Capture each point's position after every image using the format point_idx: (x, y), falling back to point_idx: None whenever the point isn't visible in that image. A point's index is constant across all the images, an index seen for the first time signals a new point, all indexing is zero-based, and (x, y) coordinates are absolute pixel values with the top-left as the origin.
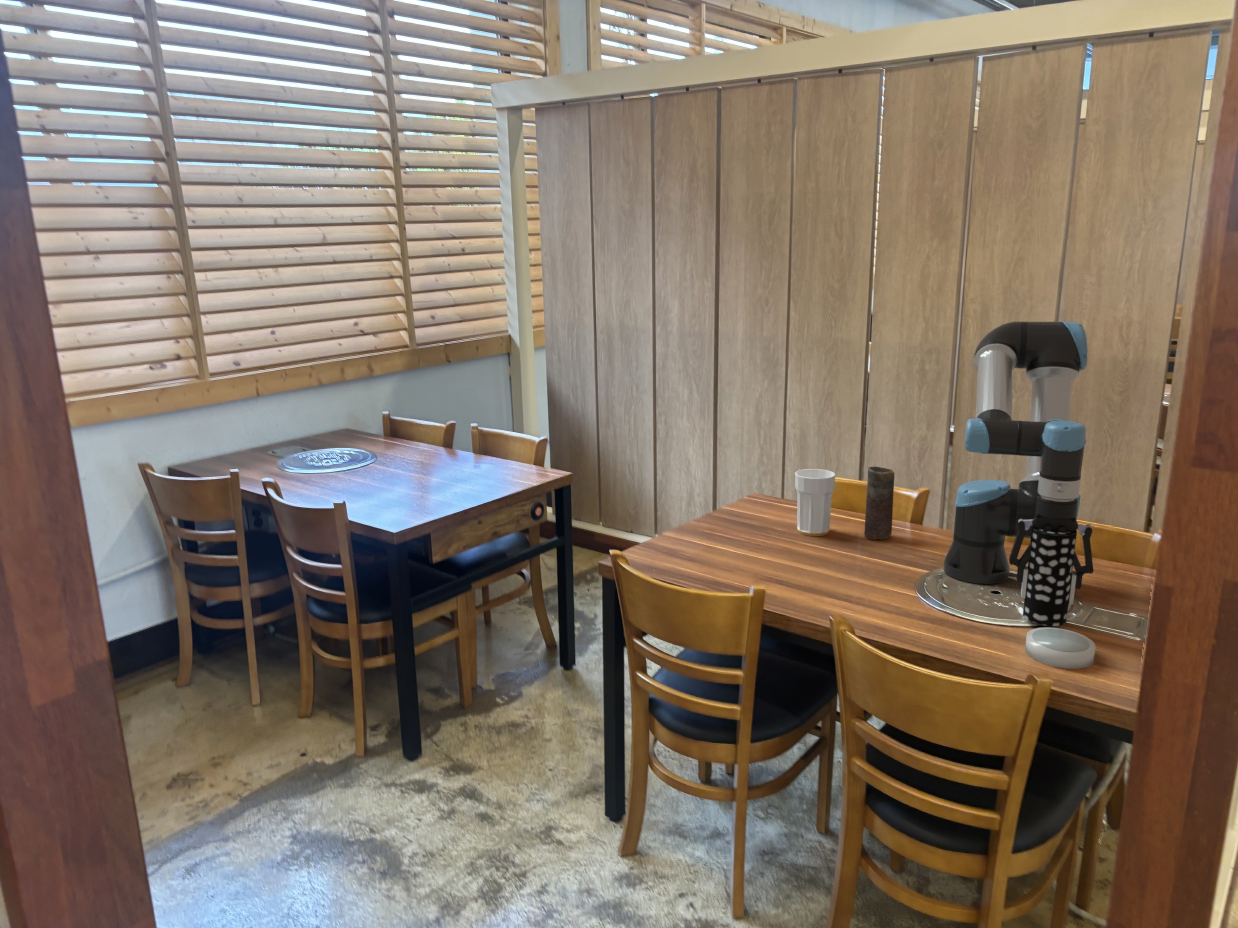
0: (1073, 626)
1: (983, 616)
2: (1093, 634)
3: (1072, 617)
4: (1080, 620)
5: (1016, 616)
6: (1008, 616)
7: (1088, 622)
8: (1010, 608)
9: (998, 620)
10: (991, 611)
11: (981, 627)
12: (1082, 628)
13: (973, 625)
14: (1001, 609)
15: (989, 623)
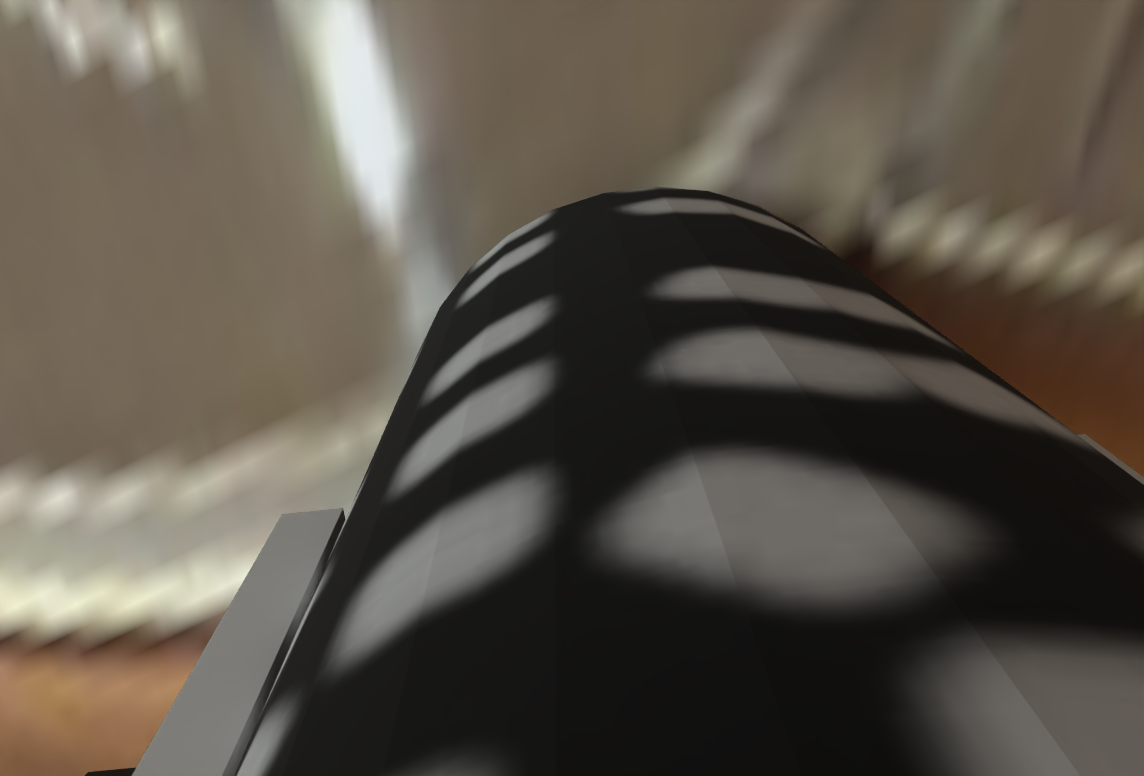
0: (950, 329)
1: (27, 488)
2: (1124, 451)
3: (972, 38)
4: (1055, 99)
5: (344, 325)
6: (264, 366)
7: (1140, 122)
8: (228, 89)
9: (196, 522)
10: (55, 303)
11: (101, 747)
12: (1038, 342)
13: (22, 737)
14: (139, 180)
15: (138, 632)
